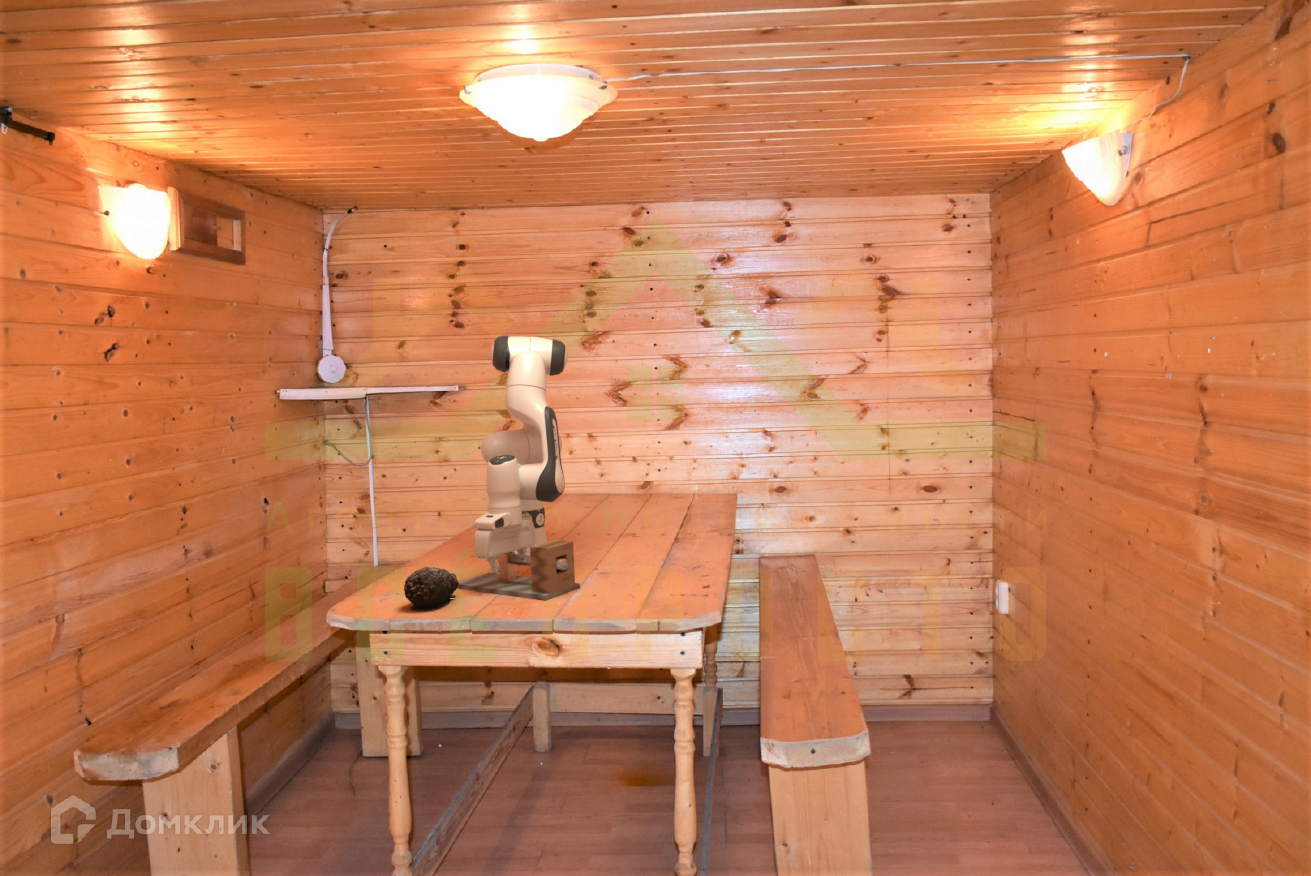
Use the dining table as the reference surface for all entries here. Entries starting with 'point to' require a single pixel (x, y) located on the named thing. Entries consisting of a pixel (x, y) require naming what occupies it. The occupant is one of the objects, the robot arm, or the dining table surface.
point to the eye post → (533, 575)
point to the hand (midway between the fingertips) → (508, 568)
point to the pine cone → (430, 588)
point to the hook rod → (512, 559)
